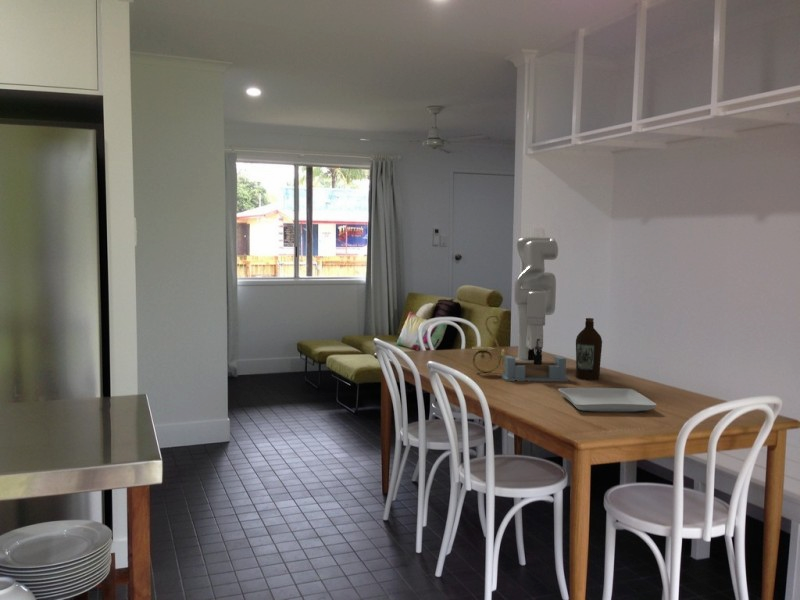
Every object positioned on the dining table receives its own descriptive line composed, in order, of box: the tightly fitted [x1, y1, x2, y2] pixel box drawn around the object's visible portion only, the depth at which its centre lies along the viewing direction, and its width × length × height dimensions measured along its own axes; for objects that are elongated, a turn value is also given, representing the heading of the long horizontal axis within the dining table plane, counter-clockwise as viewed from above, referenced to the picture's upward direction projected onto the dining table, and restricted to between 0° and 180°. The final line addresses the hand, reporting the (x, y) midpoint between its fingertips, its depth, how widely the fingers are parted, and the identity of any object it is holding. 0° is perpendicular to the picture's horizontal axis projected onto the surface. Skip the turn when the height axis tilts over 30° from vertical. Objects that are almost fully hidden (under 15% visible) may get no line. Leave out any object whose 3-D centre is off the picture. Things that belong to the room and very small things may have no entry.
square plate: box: [557, 387, 658, 413], centre depth 246 cm, size 27×27×4 cm
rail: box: [515, 360, 555, 377], centre depth 292 cm, size 4×16×6 cm, turn 93°
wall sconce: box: [471, 314, 506, 373], centre depth 304 cm, size 14×10×25 cm
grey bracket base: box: [500, 355, 570, 382], centre depth 292 cm, size 10×26×9 cm, turn 93°
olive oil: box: [575, 317, 603, 381], centre depth 295 cm, size 11×11×25 cm
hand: (534, 362), depth 292 cm, fingers open, 9 cm apart
